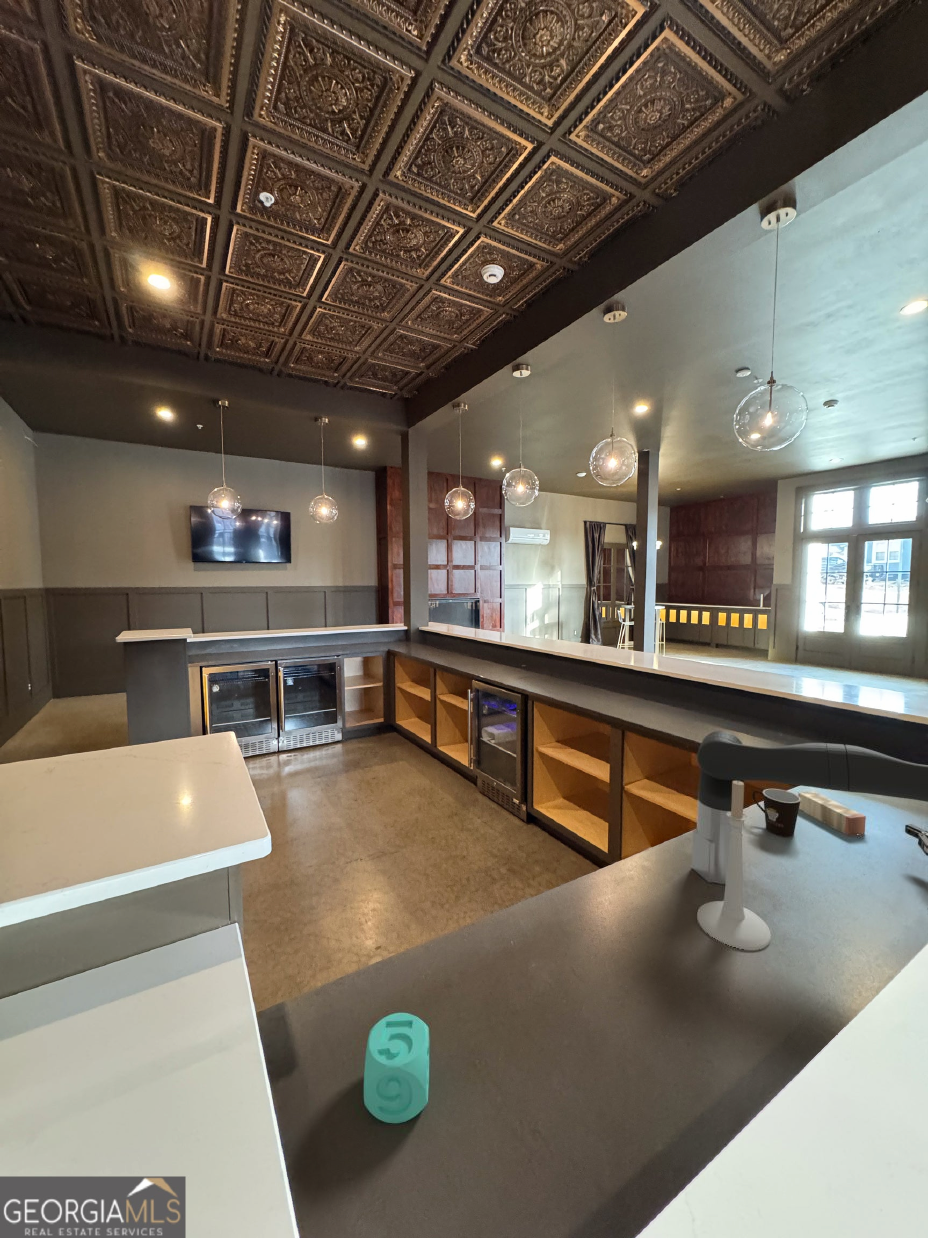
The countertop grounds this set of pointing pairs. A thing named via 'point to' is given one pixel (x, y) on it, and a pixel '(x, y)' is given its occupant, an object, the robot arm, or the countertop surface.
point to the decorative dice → (397, 1068)
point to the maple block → (832, 813)
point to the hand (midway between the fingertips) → (907, 828)
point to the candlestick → (734, 893)
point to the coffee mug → (779, 811)
